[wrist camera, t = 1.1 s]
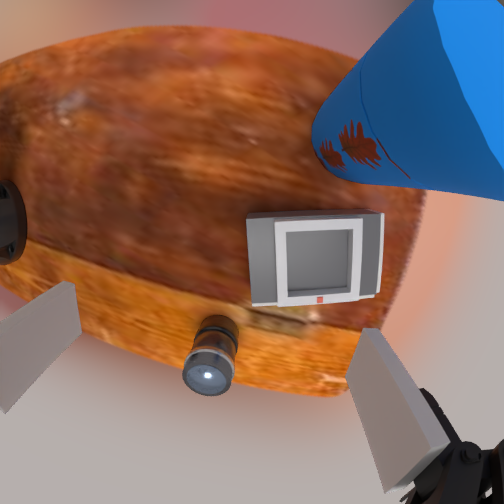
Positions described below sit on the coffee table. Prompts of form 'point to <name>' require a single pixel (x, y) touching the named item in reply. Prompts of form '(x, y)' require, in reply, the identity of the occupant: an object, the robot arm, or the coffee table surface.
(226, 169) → the coffee table surface
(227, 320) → the lens
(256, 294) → the grey square frame
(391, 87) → the thermos
